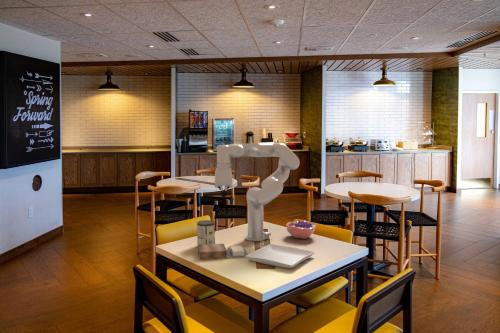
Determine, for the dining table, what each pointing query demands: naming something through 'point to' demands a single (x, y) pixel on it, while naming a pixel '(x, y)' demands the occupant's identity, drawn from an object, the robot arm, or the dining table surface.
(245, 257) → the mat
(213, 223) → the coffee can
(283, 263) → the square plate
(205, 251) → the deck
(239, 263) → the dining table surface
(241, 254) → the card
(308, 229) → the cell model
